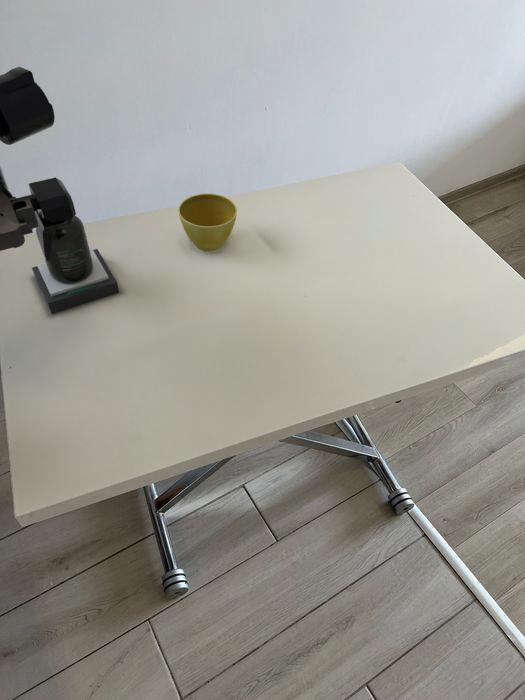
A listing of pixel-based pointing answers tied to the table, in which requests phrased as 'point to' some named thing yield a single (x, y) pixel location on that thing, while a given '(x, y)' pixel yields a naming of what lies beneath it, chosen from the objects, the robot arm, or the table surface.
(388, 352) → the table surface
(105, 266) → the kitchen scale
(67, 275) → the supplement bottle
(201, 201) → the flower pot
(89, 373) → the table surface
